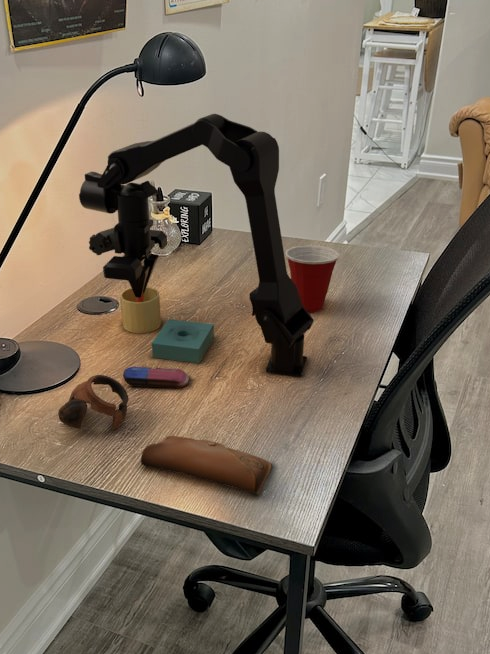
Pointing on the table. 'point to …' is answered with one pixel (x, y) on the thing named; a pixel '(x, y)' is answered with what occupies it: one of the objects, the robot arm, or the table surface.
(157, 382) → the eraser
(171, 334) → the block
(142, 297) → the red rod
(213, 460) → the sunglasses case
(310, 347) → the table surface
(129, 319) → the tumbler
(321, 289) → the plastic cup
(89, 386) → the brown curved ring piece
